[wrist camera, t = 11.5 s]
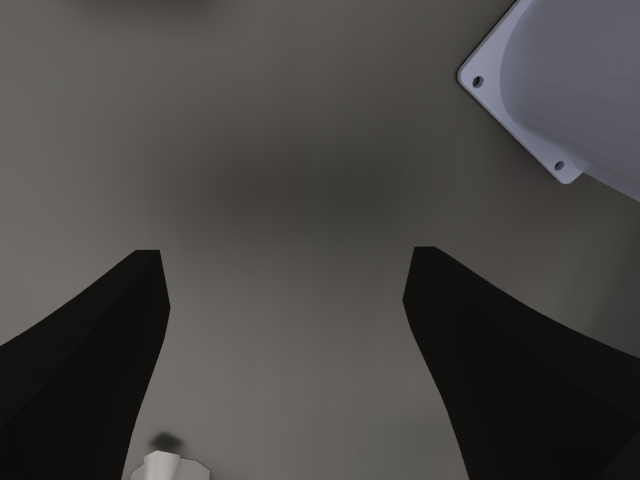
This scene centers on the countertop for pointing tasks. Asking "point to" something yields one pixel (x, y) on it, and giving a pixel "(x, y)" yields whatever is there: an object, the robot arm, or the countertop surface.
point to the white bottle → (169, 468)
